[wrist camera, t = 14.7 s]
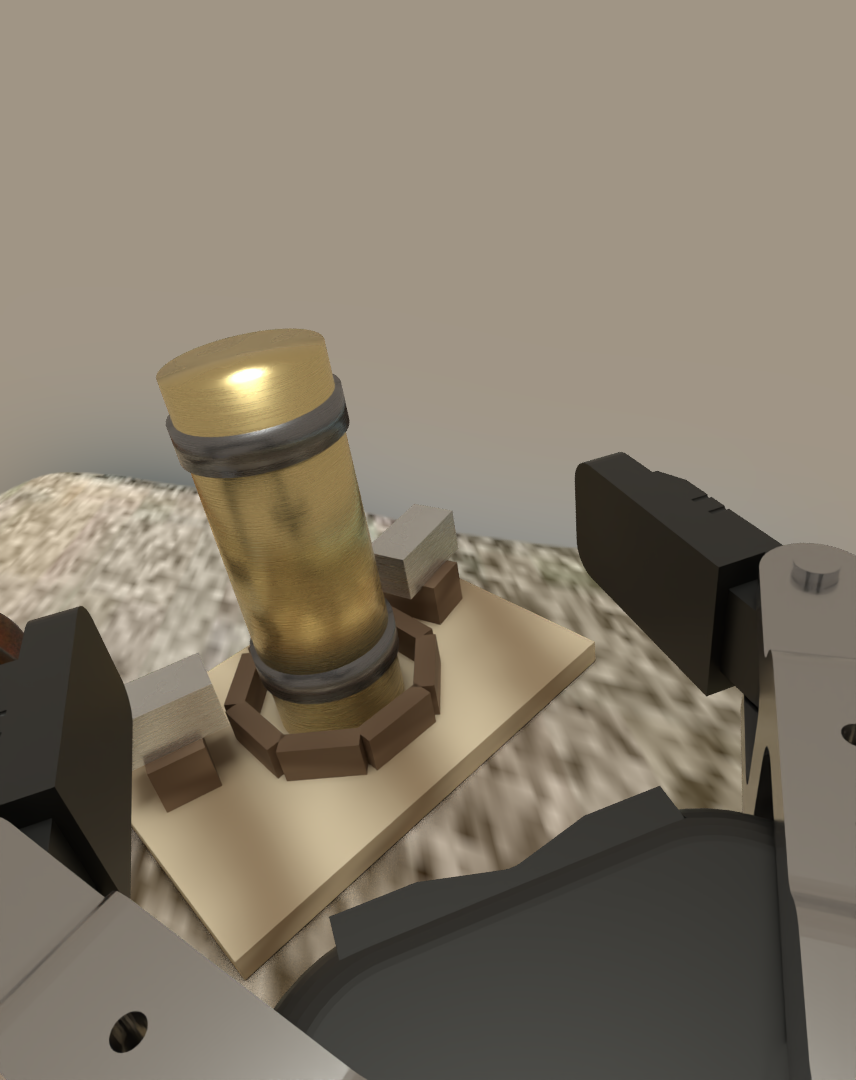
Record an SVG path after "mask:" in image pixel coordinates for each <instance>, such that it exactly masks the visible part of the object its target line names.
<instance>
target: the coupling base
mask: <svg viewBox="0 0 856 1080" xmlns="http://www.w3.org/2000/svg"><path fill="white" fill-rule="evenodd" d="M383 594H384V597H385V598H386V599H387V600H388V602H389V603H390V605H391V607H392V610H393V614H394V618H395V623H396V627H397V632H398V636H399V649H398V653H397V655H398V659H399V663H400V668H401V672H402V676H403V681H404V685H405V691H404V692H403V693H402V694H401V695H399V696H398V697H397V698H395V699H394V700H393V701H392V702H390V703H389V704H388V705H386V706H385V707H384V708H383V709H381V710H380V711H379V712H377V713H376V714H375V715H373V716H372V717H371V718H370V719H368V720H367V721H366V722H364V723H363V724H362V725H361V726H359V727H358V728H350V729H339V730H328V731H317V732H306V733H294V734H289V733H288V732H287V731H286V729H285V727H284V726H283V723H282V721H281V718H280V715H279V713H278V710H277V707H276V704H275V702H274V699H273V696H272V694H271V693H270V692H269V691H268V690H267V689H266V688H265V687H264V685H263V684H262V682H261V679H260V677H259V674H258V672H257V669H256V666H255V663H254V661H253V658H252V655H251V652H250V645H249V646H247V647H246V648H244V649H243V650H241V651H239V652H238V653H236V654H235V655H233V656H231V657H230V658H228V659H227V660H225V661H224V662H222V663H220V664H219V665H217V666H216V667H214V668H213V669H211V670H209V671H208V672H207V674H208V676H209V678H210V681H211V683H212V685H213V688H214V690H215V692H216V695H217V697H218V700H219V702H220V704H221V707H222V709H223V712H224V714H225V716H226V719H227V721H228V724H229V726H227V727H224V728H222V729H220V730H218V731H216V732H214V733H212V734H210V735H207V736H205V737H203V738H201V739H199V740H197V741H195V742H193V743H190V744H188V745H186V746H184V747H182V748H180V749H178V750H176V751H173V752H171V753H169V754H167V755H165V756H163V757H161V758H159V759H156V760H154V761H152V762H150V763H148V764H146V765H144V766H142V767H139V768H137V769H135V770H133V771H132V814H131V827H132V828H133V830H134V831H135V832H136V834H137V835H138V836H139V838H140V839H141V840H142V842H143V843H144V845H145V846H146V847H147V849H148V850H149V851H150V853H151V854H152V855H153V857H154V858H155V859H156V861H157V862H158V864H159V865H160V866H161V868H162V869H163V870H164V872H165V873H166V874H167V876H168V877H169V878H170V880H171V881H172V883H173V884H174V885H175V887H176V888H177V889H178V891H179V892H180V893H181V895H182V896H183V897H184V899H185V900H186V901H187V903H188V904H189V906H190V907H191V908H192V910H193V911H194V912H195V914H196V915H197V916H198V918H199V919H200V920H201V922H202V923H203V925H204V926H205V927H206V929H207V930H208V931H209V933H210V934H211V935H212V937H213V938H214V939H215V941H216V942H217V943H218V945H219V946H220V948H221V949H222V950H223V952H224V953H225V954H226V956H227V957H228V958H229V960H230V961H231V962H232V964H233V965H234V967H235V968H236V969H237V971H238V972H239V973H240V975H241V976H242V977H243V979H244V980H246V979H247V978H248V977H249V976H250V975H252V974H253V973H254V972H255V971H256V970H257V969H258V968H259V967H260V966H261V965H263V964H264V963H265V962H266V961H267V960H268V959H269V958H270V957H271V956H272V955H273V954H275V953H276V952H277V951H278V950H279V949H280V948H281V947H282V946H283V945H284V944H286V943H287V942H288V941H289V940H290V939H291V938H292V937H293V936H294V935H295V934H296V933H298V932H299V931H300V930H301V929H302V928H303V927H304V926H305V925H306V924H307V923H308V922H310V921H311V920H312V919H313V918H314V917H315V916H316V915H317V914H318V913H319V912H321V911H322V910H323V909H324V908H325V907H326V906H327V905H328V904H329V903H330V902H331V901H333V900H334V899H335V898H336V897H337V896H338V895H339V894H340V893H341V892H342V891H343V890H345V889H346V888H347V887H348V886H349V885H350V884H351V883H352V882H353V881H354V880H356V879H357V878H358V877H359V876H360V875H361V874H362V873H363V872H364V871H365V870H366V869H368V868H369V867H370V866H371V865H372V864H373V863H374V862H375V861H376V860H377V859H379V858H380V857H381V856H382V855H383V854H384V853H385V852H386V851H387V850H388V849H389V848H391V847H392V846H393V845H394V844H395V843H396V842H397V841H398V840H399V839H400V838H401V837H403V836H404V835H405V834H406V833H407V832H408V831H409V830H410V829H411V828H412V827H414V826H415V825H416V824H417V823H418V822H419V821H420V820H421V819H422V818H423V817H424V816H426V815H427V814H428V813H429V812H430V811H431V810H432V809H433V808H434V807H435V806H437V805H438V804H439V803H440V802H441V801H442V800H443V799H444V798H445V797H446V796H447V795H449V794H450V793H451V792H452V791H453V790H454V789H455V788H456V787H457V786H458V785H459V784H461V783H462V782H463V781H464V780H465V779H466V778H467V777H468V776H469V775H470V774H472V773H473V772H474V771H475V770H476V769H477V768H478V767H479V766H480V765H481V764H482V763H484V762H485V761H486V760H487V759H488V758H489V757H490V756H491V755H492V754H493V753H494V752H496V751H497V750H498V749H499V748H500V747H501V746H502V745H503V744H504V743H505V742H507V741H508V740H509V739H510V738H511V737H512V736H513V735H514V734H515V733H516V732H517V731H519V730H520V729H521V728H522V727H523V726H524V725H525V724H526V723H527V722H528V721H530V720H531V719H532V718H533V717H534V716H535V715H536V714H537V713H538V712H539V711H540V710H542V709H543V708H544V707H545V706H546V705H547V704H548V703H549V702H550V701H551V700H552V699H554V698H555V697H556V696H557V695H558V694H559V693H560V692H561V691H562V690H563V689H565V688H566V687H567V686H568V685H569V684H570V683H571V682H572V681H573V680H574V679H575V678H577V677H578V676H579V675H580V674H581V673H582V672H583V671H584V670H585V669H586V668H587V667H589V666H590V665H591V664H592V663H593V662H594V661H595V642H594V641H592V640H590V639H587V638H585V637H583V636H581V635H579V634H577V633H575V632H573V631H570V630H568V629H566V628H564V627H562V626H560V625H558V624H556V623H553V622H551V621H549V620H547V619H545V618H543V617H541V616H539V615H537V614H534V613H532V612H530V611H528V610H526V609H524V608H522V607H520V606H517V605H515V604H513V603H511V602H509V601H507V600H505V599H503V598H501V597H498V596H496V595H494V594H492V593H490V592H488V591H486V590H484V589H481V588H479V587H477V586H475V585H473V584H471V583H469V582H467V581H465V580H462V579H460V578H459V573H458V567H457V562H452V561H446V562H445V563H444V564H443V565H442V567H441V568H440V569H439V570H438V571H437V572H436V573H435V574H434V575H433V576H432V577H431V579H430V580H429V581H428V582H427V583H426V584H425V585H424V586H423V587H422V588H421V589H420V591H419V592H418V593H417V594H416V595H415V596H414V597H413V598H412V599H407V598H403V597H399V596H395V595H391V594H388V593H384V592H383Z"/></svg>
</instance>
